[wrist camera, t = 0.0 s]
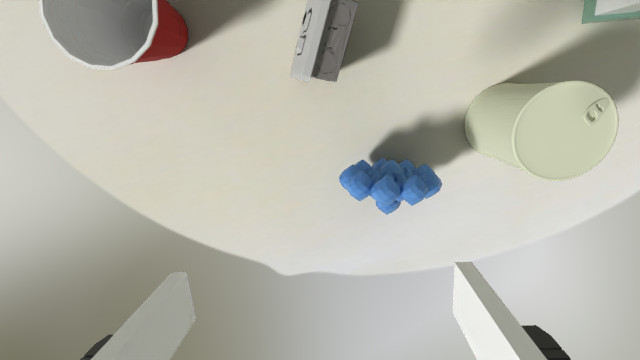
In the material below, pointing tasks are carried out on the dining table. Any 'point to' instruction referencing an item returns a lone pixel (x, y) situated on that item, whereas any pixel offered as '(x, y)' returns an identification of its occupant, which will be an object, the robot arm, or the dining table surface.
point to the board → (591, 18)
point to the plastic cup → (114, 30)
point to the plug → (616, 6)
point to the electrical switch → (323, 39)
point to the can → (544, 126)
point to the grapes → (390, 183)
